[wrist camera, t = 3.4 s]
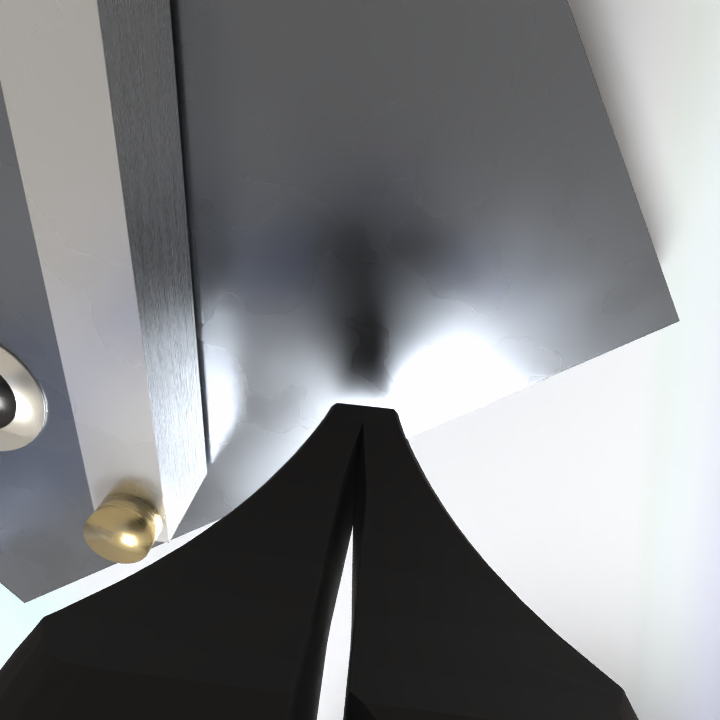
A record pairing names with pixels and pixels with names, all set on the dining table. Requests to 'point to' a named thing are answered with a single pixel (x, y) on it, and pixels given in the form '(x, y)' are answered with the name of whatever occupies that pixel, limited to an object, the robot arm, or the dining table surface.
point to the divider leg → (112, 250)
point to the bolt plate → (347, 242)
